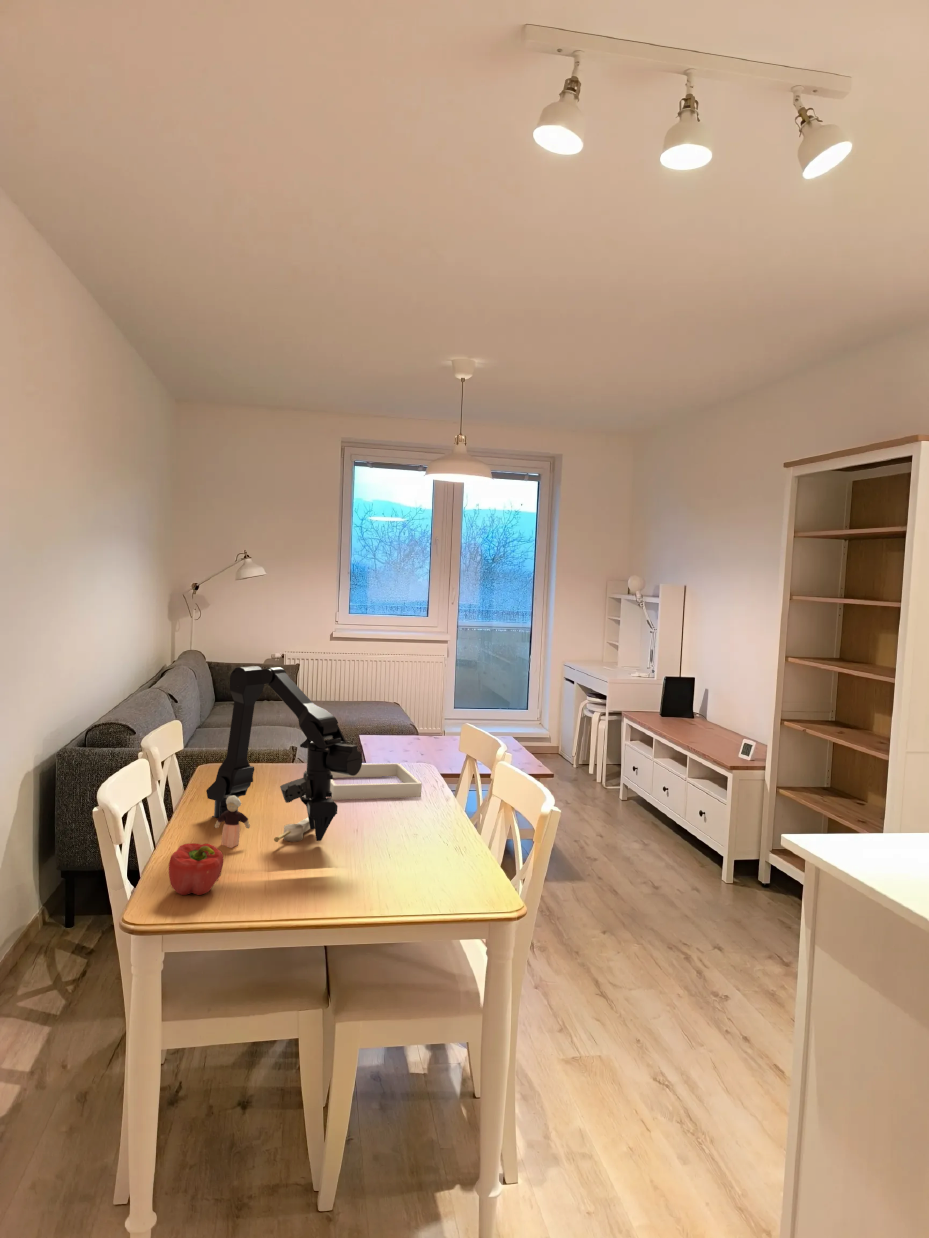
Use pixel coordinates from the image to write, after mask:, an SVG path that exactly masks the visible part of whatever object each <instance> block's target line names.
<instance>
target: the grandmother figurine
mask: <svg viewBox="0 0 929 1238" xmlns="http://www.w3.org/2000/svg"><path fill="white" fill-rule="evenodd" d="M226 804H227V809H228V811H225V812H223V813H222V814H221V815H220V817H219V818H216V819H217V820H216V822H215V824H214V828H215V829H218V828H220V825H221V823H222V822H223V823H224V824H223V826H222V831H221V833H222V834H221V840H220V841H221V843H220V844H221V846H225V847H227V848H234V847H236V846H239V845H240V837H241V836H240V834H241V833H240V832H241V830H240V827H241V826H240V822H241V823H242V824H244V826H245V828H246V829H249V828H251V825H250V824H249V822H250V821H249V818H248V817H247V815H245V814H244V813H242V811H241V812H240V811H239V807H240V806H242V802H241V800H240V798H238V797H236V796H235V795H233V796H229V797H228V798H227V800H226ZM237 809H238V811H236V810H237Z"/></svg>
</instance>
